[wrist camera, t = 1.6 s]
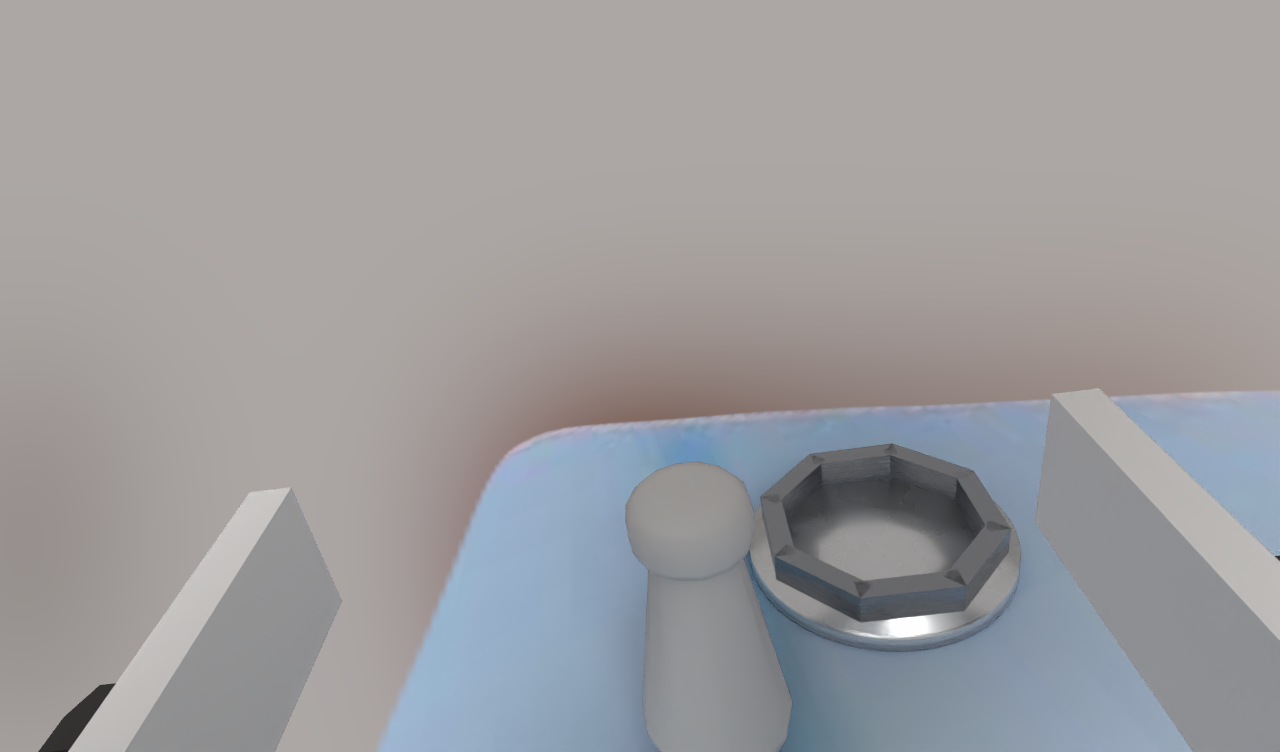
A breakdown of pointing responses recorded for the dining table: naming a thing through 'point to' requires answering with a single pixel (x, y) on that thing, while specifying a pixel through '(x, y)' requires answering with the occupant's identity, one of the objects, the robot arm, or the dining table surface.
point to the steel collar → (885, 549)
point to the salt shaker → (704, 616)
